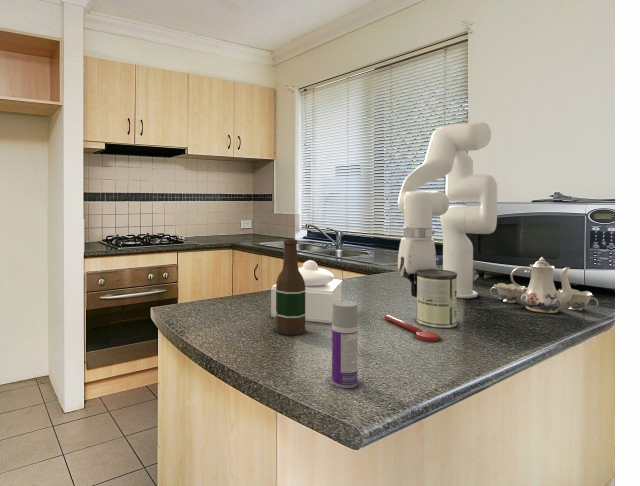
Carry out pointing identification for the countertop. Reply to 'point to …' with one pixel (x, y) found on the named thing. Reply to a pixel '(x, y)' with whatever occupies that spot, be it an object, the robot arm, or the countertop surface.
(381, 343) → the countertop surface
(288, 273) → the beer bottle
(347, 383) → the container
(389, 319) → the red spoon
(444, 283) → the coffee can
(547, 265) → the chinaware
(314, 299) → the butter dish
